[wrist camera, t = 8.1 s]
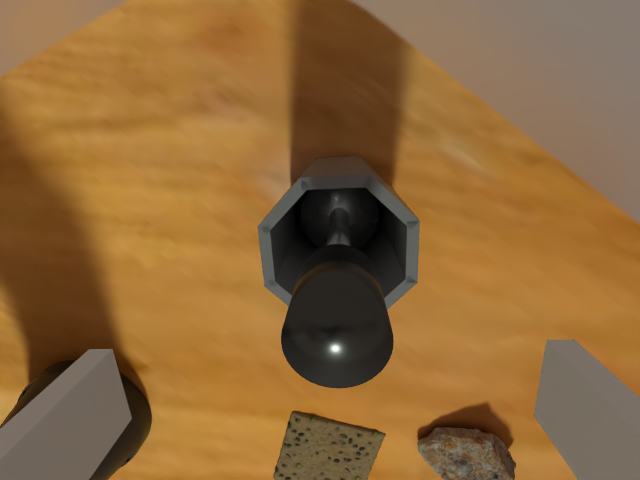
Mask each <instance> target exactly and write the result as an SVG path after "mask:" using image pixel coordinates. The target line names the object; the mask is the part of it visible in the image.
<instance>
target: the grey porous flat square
mask: <svg viewBox="0 0 640 480" xmlns="http://www.w3.org/2000/svg"><path fill="white" fill-rule="evenodd" d="M385 435H386V434H385V433H381V432H378V431H376V430H369V429H367V428H362V427H358V426H353V425H349V424H346V423H340V422H336V421H333V420H329V419H324V418H320V417H316V416H312V415H308V414H305V413H301V412H296V411H293V412H292V413H291V415H290V420H289V422H288V427H287V429H286V435H285V438H284V441H283V444H282V448H281V451H280V457H279V459H278V463H277V466H276V468H275V473H274V479H275V480H367V479H368V475H369V473H370V471H371V468H372V466H373V464H374V461H375V459H376V457H377V453H378V451H379V449H380V447H381V444H382V442H383V439H384V437H385Z"/></svg>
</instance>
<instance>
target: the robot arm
mask: <svg viewBox="0 0 640 480" xmlns="http://www.w3.org/2000/svg"><path fill="white" fill-rule="evenodd" d="M534 416H535V418H536V419H537V421H538V422H539V424H540V425H541V427H542V428H543V429H544V431H545V432H546V434H547V435H548V437H549V438H550V440H551V441H552V442H553V444H554V445H555V447H556V448H557V450H558V451H559V453H560V454H561V455H562V457H563V458H564V460H565V461H566V463H567V464H568V466H569V467H570V469H571V470H572V471H573V473H574V474H575V476H576V477H577V479H578V480H640V397H638V396H637V395H636V394H635V393H634V392H633V391H632V390H631V389H629V388H628V387H627V386H626V385H625V384H624V383H623V382H621V381H620V380H619V379H618V378H617V377H616V376H615V375H614V374H612V373H611V372H610V371H609V370H608V369H607V368H606V367H605V366H603V365H602V364H601V363H600V362H599V361H598V360H597V359H596V358H594V357H593V356H592V355H591V354H590V353H589V352H588V351H586V350H585V349H584V348H583V347H582V346H581V345H580V344H579V343H577V342H576V341H575V340H547V341H546V347H545V353H544V359H543V365H542V370H541V376H540V382H539V388H538V394H537V399H536V405H535V411H534ZM150 427H151V414H150V410H149V407H148V404H147V402H146V400H145V398H144V397H143V395H142V394H141V392H140V391H139V390H138V389H137V388H136V386H135V385H134V384H133V383H131V382H130V381H129V380H128V379H127V378H125V377H124V376H123V375H121V374H120V373H119V370H118V367H117V363H116V360H115V356H114V352H113V349H89V350H88V351H87V352H85V353H84V354H83V355H82V356H81V357H80V358H79V359H78V360H74V361H65V362H60V363H57V364H55V365H52V366H50V367H49V368H47V369H46V370H45V371H43V372H42V373H41V374H40V375H39V376H37V377H36V378H35V379H34V380H32V381H31V382H30V383H29V384H28V385H27V386H26V388H25V389H24V390H23V392H22V394H21V395H20V397H19V399H18V402H17V404H16V405H15V407H14V408H13V409H12V411H11V412H10V413H9V415H8V416H7V417H6V419H5V420H4V421H3V423H2V424H1V426H0V480H108V479H109V478H110V477H111V476H112V475H113V474H114V473H115V472H116V471H117V470H118V469H119V468H120V467H122V466H124V465H125V464H127V463H128V462H129V461H130V460H131V459H132V458H133V457H134V456H135V455H136V453H137V452H138V451H139V449H140V447H141V446H142V444H143V443H144V441H145V439H146V438H147V436H148V434H149V431H150Z"/></svg>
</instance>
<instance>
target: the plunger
mask: <svg viewBox="0 0 640 480" xmlns="http://www.w3.org/2000/svg"><path fill="white" fill-rule="evenodd" d="M301 222H302V226H303V229H304V231H305V233H306V235H307V236H308V238H309V239H310V240H311V241H312V242H313V243H314V244H315V245H317V246H318V247H320V248H319V249H317V250H315V251H314V252H312V253H311V254H310V255H309V256H308V257H307V258H306V259H305V260H304V262H303V263H302V265H301V267H300V270H299V273H298V277H297V280H296V284H295V287H294V291H293V294H292V298H291V301H290V305H289V308H288V311H287V315H286V318H285V322H284V325H283V329H282V334H281V344H282V349H283V352H284V355H285V357H286V359H287V361H288V363H289V364H290V366H291V367H292V368H293V369H294V370H295V371H296V372H297V373H298V374H299V375H300V376H302V377H303V378H305V379H306V380H308V381H310V382H312V383H315V384H317V385H320V386H324V387H330V388H348V387H353V386H357V385H360V384H362V383H365V382H367V381H369V380H371V379H372V378H373V377H375V376H376V375H377V374H379V373H380V372H381V371H382V369H383V368H384V367H385V366H386V364H387V363H388V361H389V359H390V356H391V354H392V350H393V333H392V328H391V324H390V320H389V316H388V312H387V308H386V304H385V300H384V296H383V292H382V288H381V284H380V280H379V276H378V272H377V269H376V267H375V265H374V263H373V262H372V260H371V259H370V258H369V257H368V256H367V255H366V254H365V253H364V252H362V251H361V250H359V249H357V248H359V247H361V246H362V245H364V244H365V243H366V242H367V241H368V240H369V239H370V238H371V236H372V235H373V233H374V231H375V229H376V226H377V223H378V208H377V204H376V201H375V199H374V197H373V195H372V193H371V192H370V191H369V190H368V189H367V188H366V187H361V188H338V189H315V190H310V191H309V192H308V194H307V196H306V197H305V199H304V202H303V205H302V208H301Z"/></svg>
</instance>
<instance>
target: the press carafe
mask: <svg viewBox="0 0 640 480" xmlns="http://www.w3.org/2000/svg"><path fill="white" fill-rule="evenodd" d="M361 187H366V188H367V189H368V190H369V191H370V192H371V193H372V195H373V197H374V199H375V201H376V204H377V208H378V223H377V226H376V229H375V231H374V233H373V235H372V236H371V238H370V239H369V240H368V241H367V242H366V243H365V244H364V245H362V246H361V247H359V248H357V249H359V250H361V251H362V252H364V253H365V254H366V255H367V256H368V257H369V258H370V259H371V260H372V262H373V263H374V265H375V267H376V269H377V272H378V276H379V280H380V284H381V288H382V292H383V296H384V300H385V304H386V308H387V309H388V308H390V307H391V306H392V305H393V304H394V303H395V302H396V301H397V300H399V299H400V298H401V297H402V296H403V295H404V294H405V293H406V292H408V291H409V290H410V289H411V288H412V287H413V286H414V285H415V284H417V277H418V251H419V224H420V221H419V219H418V218H417V217H416V216H415V215H414V213H413V212H412V211H411V210H410V208H409V207H408V206H407V205H406V204H405V202H404V201H403V200H402V199H401V198H400V196H399V195H398V194H397V193H396V192H395V190H394V189H393V188H392V187H391V186H390V185H389V184H388V183H387V182H386V181H385V180H384V179H383V178H382V177H381V176H380V175H379V174H378V173H377V172H376V171H375V170H374V169H373V168H372V167H371V166H370V165H368V164H367V163H366V162H365V161H364V160H363V159H362V158H361V157H360V156H333V157H325V158H316V159H315V160H314V161H313V162H312V163H311V164H310V165H309V167H308V168H307V169H306V170H305V171H304V172H303V173H302V175H301V176H300V177H299V178H298V179H297V180H296V181H295V183H294V184H293V185H292V186H291V187H290V188H289V189H288V191H287V192H286V193H285V194H284V195H283V197H282V198H281V199H280V200H279V202H278V203H277V204H276V205H275V206H274V208H273V209H272V210H271V211H270V212H269V214H268V215H267V216H266V217H265V218H264V220H263V221H262V222H261V223H260V224H259V226H258V234H259V242H260V251H261V260H262V268H263V277H264V286H265V287H266V288H267V289H268V290H270V291H271V292H272V293H273V294H275V295H276V296H277V297H278V298H279V299H281V300H282V301H283V302H284V303H286V304H287V305H288V306H289V305H290V301H291V298H292V294H293V291H294V287H295V284H296V280H297V277H298V273H299V270H300V267H301V265H302V263H303V262H304V260H305V259H306V258H307V257H308V256H309V255H310V254H311V253H312V252H314V251H315V250H317V249H319V248H320V247H318V246H317V245H315V244H314V243H313V242H312V241H311V240H310V239H309V238H308V236H307V235H306V233H305V231H304V229H303V226H302V222H301V208H302V205H303V202H304V199H305V197H306V196H307V194H308V192H309V191H310V190H315V189H338V188H361Z"/></svg>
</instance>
